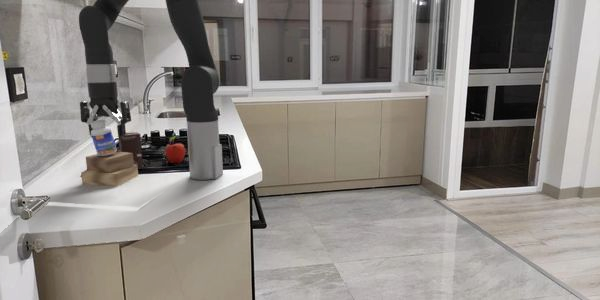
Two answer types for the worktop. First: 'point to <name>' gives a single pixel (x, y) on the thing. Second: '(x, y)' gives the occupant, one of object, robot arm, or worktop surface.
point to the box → (132, 147)
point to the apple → (175, 152)
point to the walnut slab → (110, 162)
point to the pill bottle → (102, 138)
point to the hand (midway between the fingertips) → (107, 137)
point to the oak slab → (109, 177)
